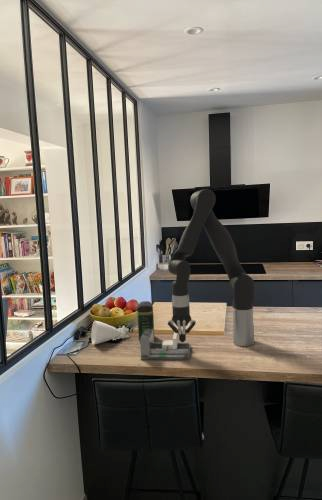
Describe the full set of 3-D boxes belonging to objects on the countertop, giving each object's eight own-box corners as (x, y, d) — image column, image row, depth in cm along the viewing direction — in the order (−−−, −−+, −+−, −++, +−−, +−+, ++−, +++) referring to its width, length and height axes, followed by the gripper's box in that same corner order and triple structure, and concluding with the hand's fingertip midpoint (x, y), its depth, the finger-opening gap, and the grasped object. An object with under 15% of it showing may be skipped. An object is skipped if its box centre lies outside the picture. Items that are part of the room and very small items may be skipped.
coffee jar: (154, 342, 182) (152, 305, 179) (138, 342, 182) (135, 306, 179) (154, 334, 192) (152, 299, 189) (139, 335, 192) (137, 300, 189)
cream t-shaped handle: (178, 346, 172) (177, 331, 171) (176, 356, 161) (175, 340, 160) (164, 345, 173) (163, 331, 172) (161, 356, 162) (160, 340, 161)
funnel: (130, 317, 191) (96, 315, 184) (133, 337, 183) (97, 336, 176) (124, 329, 198) (90, 328, 192) (126, 349, 191) (92, 348, 184)
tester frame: (190, 346, 174) (189, 328, 172) (188, 360, 160) (188, 339, 159) (146, 346, 177) (145, 328, 175) (140, 359, 163) (139, 339, 162)
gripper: (196, 301, 167) (197, 338, 169) (166, 301, 168) (168, 338, 171) (195, 306, 159) (197, 345, 162) (164, 306, 161) (166, 345, 164)
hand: (182, 341), depth 166 cm, fingers closed
